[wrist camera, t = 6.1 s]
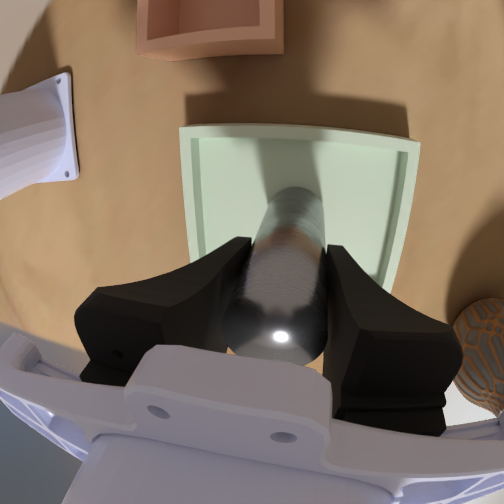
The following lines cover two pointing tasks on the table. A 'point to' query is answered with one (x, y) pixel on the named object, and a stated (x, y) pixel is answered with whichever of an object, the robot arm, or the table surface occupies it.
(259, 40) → the salmon open box
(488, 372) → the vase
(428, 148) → the table surface
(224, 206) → the tray
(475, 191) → the table surface
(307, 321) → the dowel
